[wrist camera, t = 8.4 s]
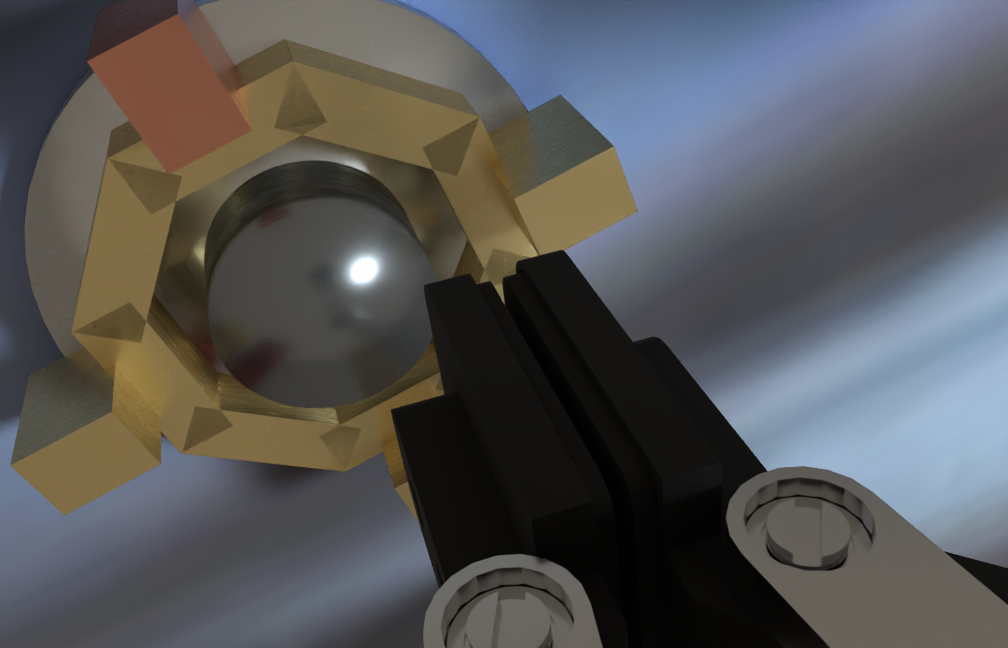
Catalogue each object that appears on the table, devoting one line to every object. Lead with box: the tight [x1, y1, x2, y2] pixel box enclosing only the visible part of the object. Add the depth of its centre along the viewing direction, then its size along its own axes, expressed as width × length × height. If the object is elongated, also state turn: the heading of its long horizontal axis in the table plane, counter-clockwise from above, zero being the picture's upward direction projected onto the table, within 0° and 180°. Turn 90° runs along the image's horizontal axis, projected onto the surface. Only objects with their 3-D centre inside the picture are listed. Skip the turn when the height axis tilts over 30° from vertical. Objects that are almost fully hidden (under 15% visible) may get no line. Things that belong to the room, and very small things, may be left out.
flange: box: [24, 0, 528, 436], centre depth 28 cm, size 16×16×4 cm
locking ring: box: [10, 0, 637, 521], centre depth 27 cm, size 14×14×4 cm
